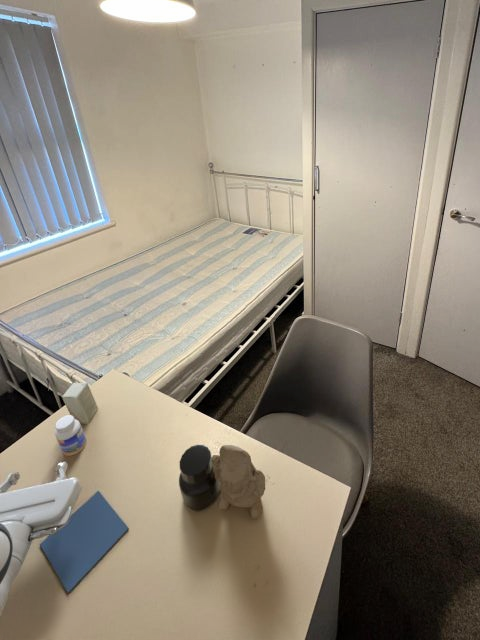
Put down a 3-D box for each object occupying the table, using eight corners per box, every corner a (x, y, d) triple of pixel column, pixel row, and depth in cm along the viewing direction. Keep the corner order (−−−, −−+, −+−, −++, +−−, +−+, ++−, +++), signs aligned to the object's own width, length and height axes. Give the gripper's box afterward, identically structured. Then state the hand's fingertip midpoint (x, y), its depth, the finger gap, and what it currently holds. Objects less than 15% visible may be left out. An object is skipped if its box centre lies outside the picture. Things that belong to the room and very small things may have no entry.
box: (85, 407, 97) (74, 381, 92) (98, 408, 97) (88, 381, 92) (73, 424, 92) (60, 397, 87) (87, 424, 92) (76, 397, 87)
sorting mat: (40, 545, 67) (39, 544, 67) (98, 491, 76) (98, 490, 76) (68, 593, 61) (67, 593, 61) (129, 529, 70) (128, 528, 70)
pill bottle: (60, 458, 83) (47, 434, 79) (67, 439, 88) (56, 415, 84) (83, 453, 85) (72, 428, 81) (89, 434, 89) (79, 410, 85)
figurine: (209, 512, 72) (196, 458, 64) (225, 479, 79) (216, 425, 70) (260, 535, 69) (254, 480, 60) (273, 498, 75) (269, 443, 67)
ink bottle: (214, 462, 82) (208, 431, 77) (229, 493, 76) (223, 462, 71) (176, 487, 77) (167, 456, 72) (188, 523, 71) (179, 491, 66)
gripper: (59, 522, 59) (87, 449, 72) (-73, 554, 56) (-20, 471, 68) (70, 539, 62) (95, 466, 74) (-56, 571, 58) (-8, 488, 70)
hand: (39, 468), depth 71 cm, fingers open, 8 cm apart
